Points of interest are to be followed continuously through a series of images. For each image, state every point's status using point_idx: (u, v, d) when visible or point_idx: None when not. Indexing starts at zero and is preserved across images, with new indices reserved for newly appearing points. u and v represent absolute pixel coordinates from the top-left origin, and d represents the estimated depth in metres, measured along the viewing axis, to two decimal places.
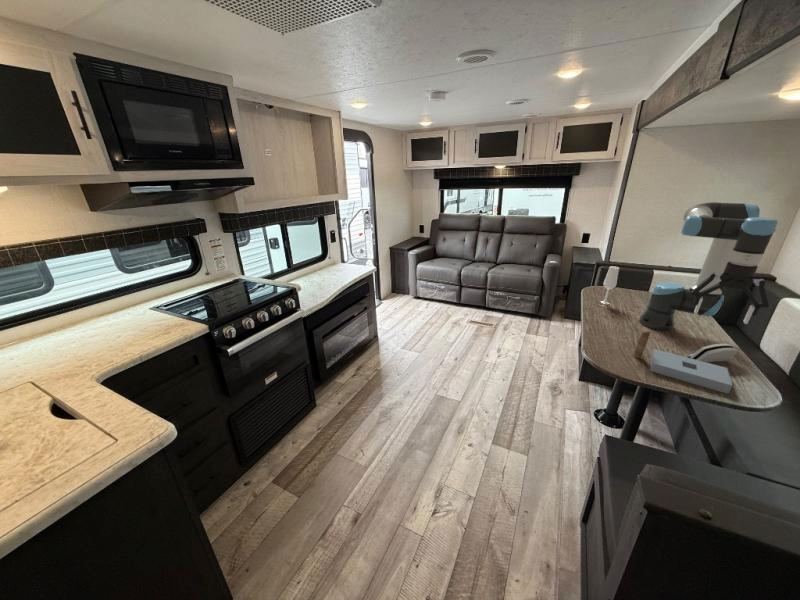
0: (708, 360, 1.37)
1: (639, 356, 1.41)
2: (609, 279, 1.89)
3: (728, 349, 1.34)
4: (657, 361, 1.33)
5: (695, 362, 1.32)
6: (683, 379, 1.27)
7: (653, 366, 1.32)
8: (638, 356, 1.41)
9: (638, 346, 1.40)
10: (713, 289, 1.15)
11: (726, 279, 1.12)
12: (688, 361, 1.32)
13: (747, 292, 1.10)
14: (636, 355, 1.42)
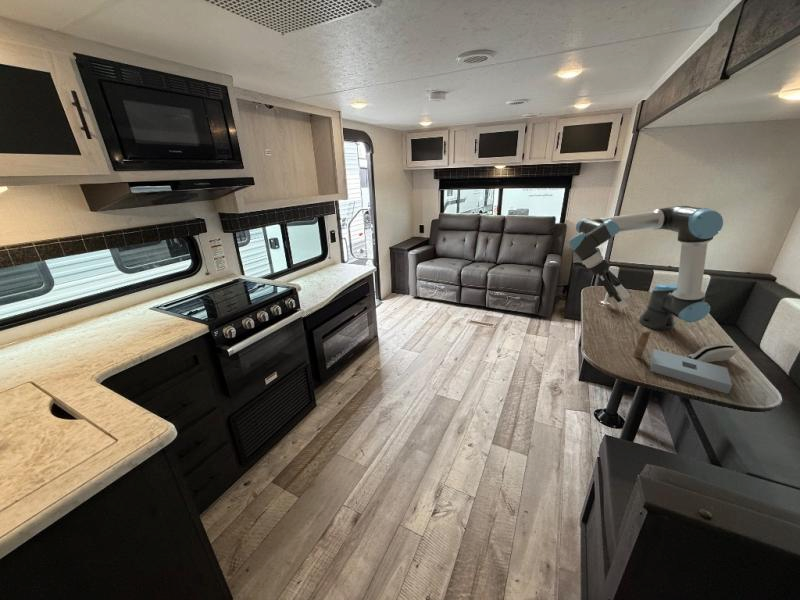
0: (708, 360, 1.37)
1: (639, 356, 1.41)
2: None
3: (728, 349, 1.34)
4: (657, 361, 1.33)
5: (695, 362, 1.32)
6: (683, 379, 1.27)
7: (653, 366, 1.32)
8: (638, 356, 1.41)
9: (638, 346, 1.40)
10: None
11: None
12: (688, 361, 1.32)
13: None
14: (636, 355, 1.42)
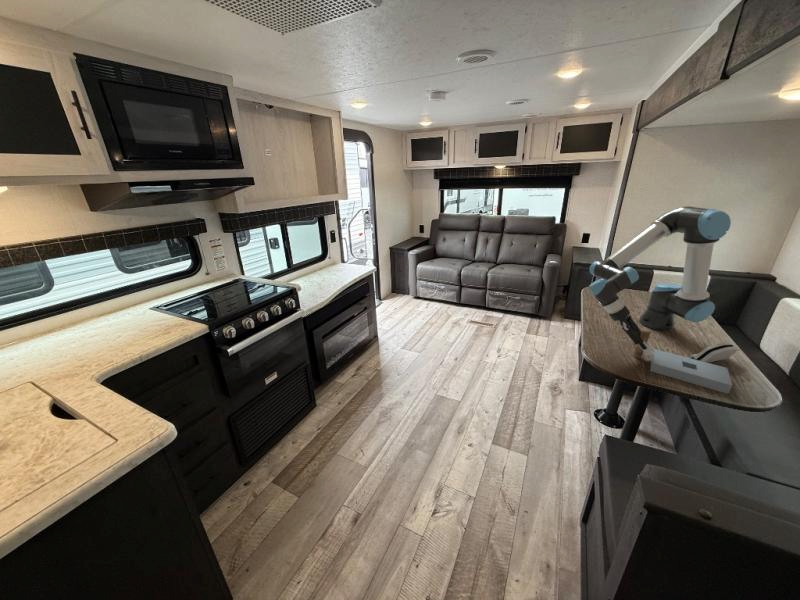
0: (711, 360, 1.37)
1: (639, 356, 1.41)
2: None
3: (730, 348, 1.34)
4: (657, 361, 1.33)
5: (695, 362, 1.32)
6: (683, 379, 1.27)
7: (653, 366, 1.32)
8: (638, 356, 1.41)
9: (638, 346, 1.40)
10: None
11: None
12: (688, 361, 1.32)
13: None
14: (636, 355, 1.42)
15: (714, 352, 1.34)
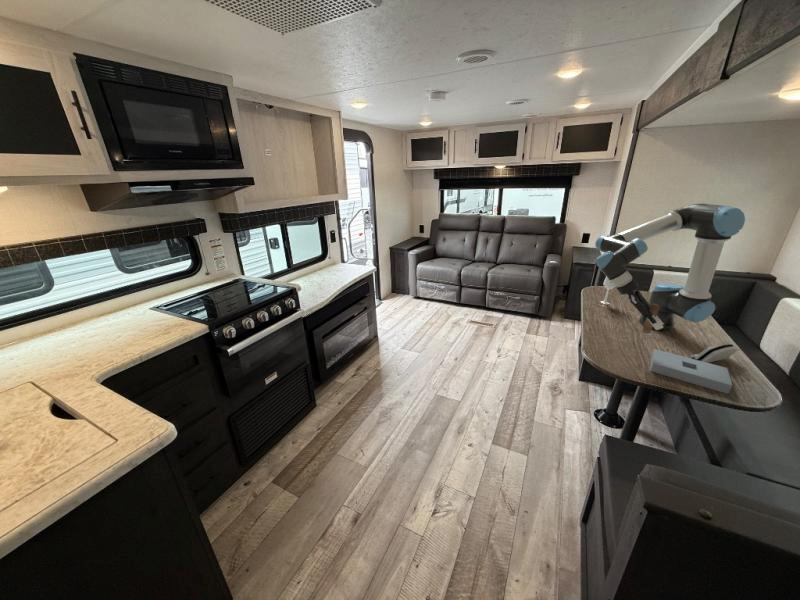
0: (712, 360, 1.37)
1: (648, 331, 1.36)
2: None
3: (731, 348, 1.35)
4: (657, 361, 1.33)
5: (695, 362, 1.32)
6: (683, 379, 1.27)
7: (653, 366, 1.32)
8: (647, 331, 1.36)
9: (647, 320, 1.35)
10: None
11: None
12: (688, 361, 1.32)
13: None
14: (645, 330, 1.37)
15: (715, 352, 1.34)
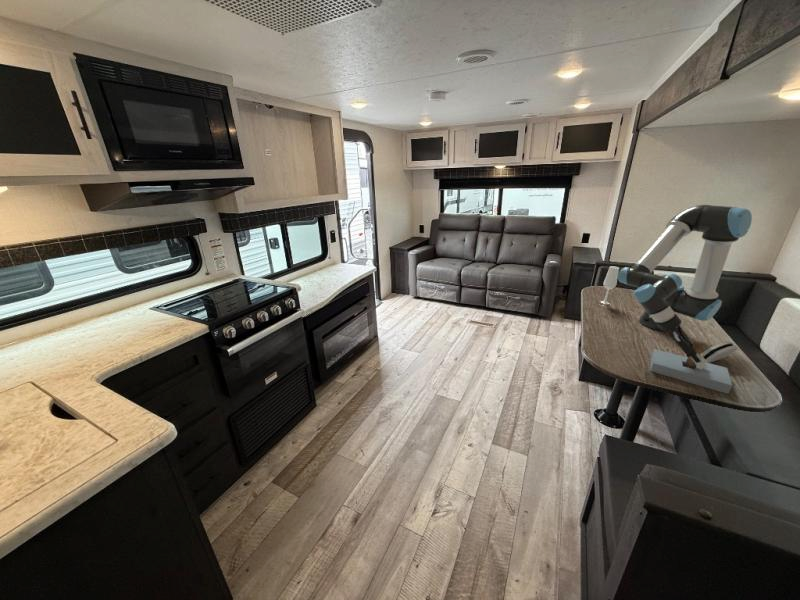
0: (714, 359, 1.38)
1: None
2: (609, 279, 1.89)
3: (732, 347, 1.35)
4: (657, 361, 1.33)
5: None
6: (683, 379, 1.27)
7: (653, 366, 1.32)
8: None
9: (690, 358, 1.28)
10: None
11: None
12: None
13: None
14: None
15: (718, 352, 1.34)
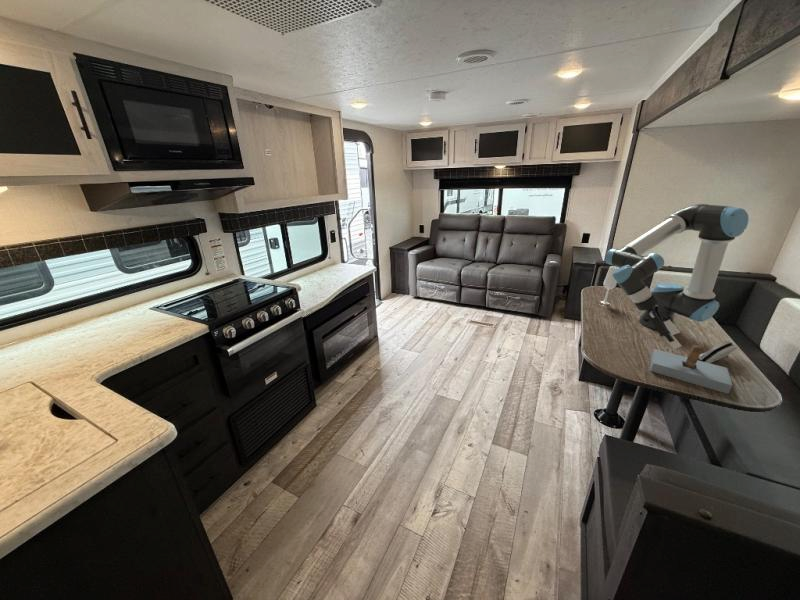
0: (715, 359, 1.38)
1: None
2: (609, 279, 1.89)
3: (732, 347, 1.35)
4: (657, 361, 1.33)
5: None
6: (683, 379, 1.27)
7: (653, 366, 1.32)
8: None
9: (688, 362, 1.29)
10: None
11: None
12: None
13: None
14: None
15: (720, 352, 1.34)
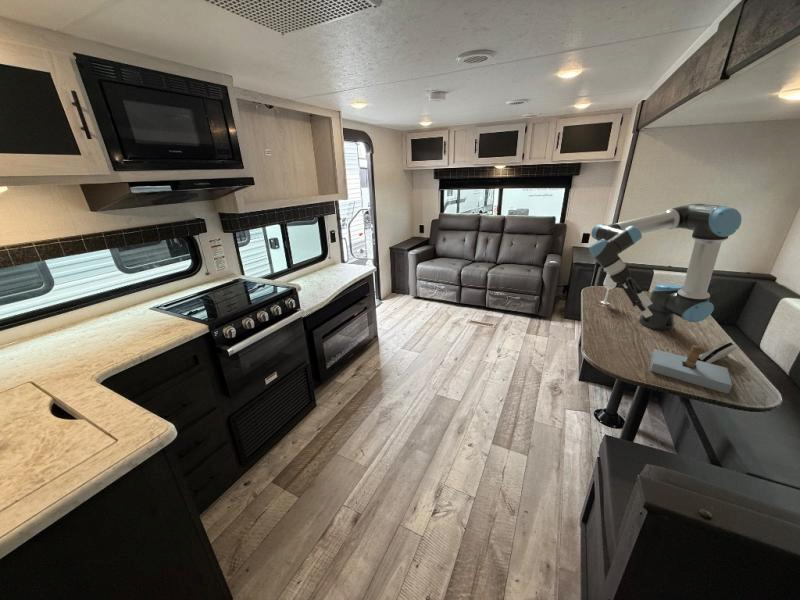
0: (716, 359, 1.38)
1: None
2: (609, 279, 1.89)
3: (733, 347, 1.36)
4: (657, 361, 1.33)
5: None
6: (683, 379, 1.27)
7: (653, 366, 1.32)
8: None
9: (688, 362, 1.29)
10: None
11: None
12: None
13: None
14: None
15: (721, 352, 1.34)
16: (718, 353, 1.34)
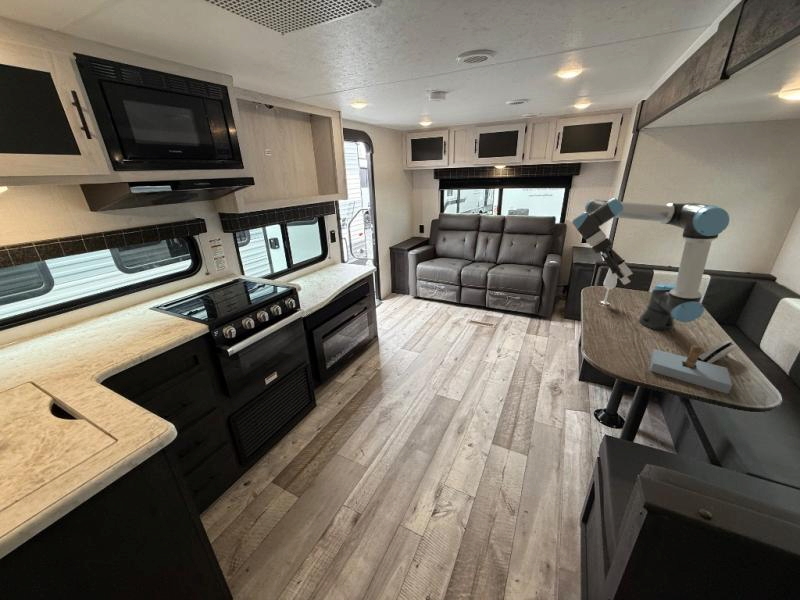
0: (716, 359, 1.38)
1: None
2: (609, 279, 1.89)
3: (733, 346, 1.36)
4: (657, 361, 1.33)
5: None
6: (683, 379, 1.27)
7: (653, 366, 1.32)
8: None
9: (688, 362, 1.29)
10: None
11: None
12: None
13: None
14: None
15: (722, 352, 1.34)
16: (719, 353, 1.34)
